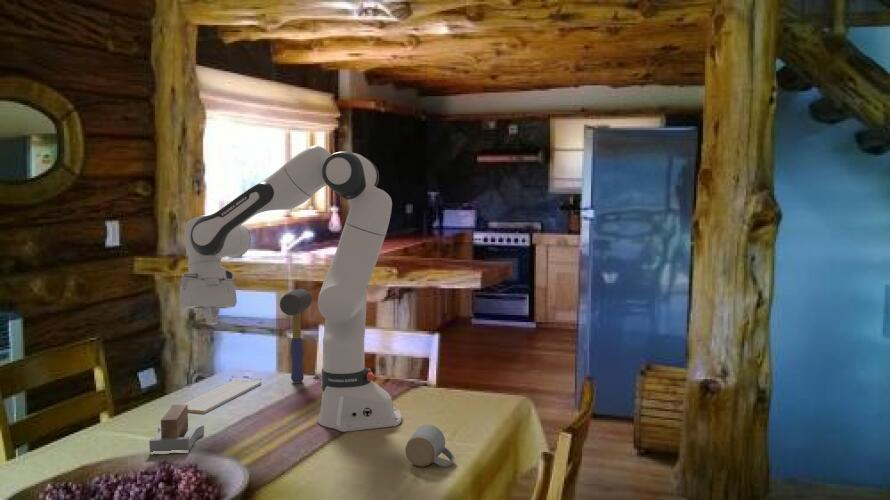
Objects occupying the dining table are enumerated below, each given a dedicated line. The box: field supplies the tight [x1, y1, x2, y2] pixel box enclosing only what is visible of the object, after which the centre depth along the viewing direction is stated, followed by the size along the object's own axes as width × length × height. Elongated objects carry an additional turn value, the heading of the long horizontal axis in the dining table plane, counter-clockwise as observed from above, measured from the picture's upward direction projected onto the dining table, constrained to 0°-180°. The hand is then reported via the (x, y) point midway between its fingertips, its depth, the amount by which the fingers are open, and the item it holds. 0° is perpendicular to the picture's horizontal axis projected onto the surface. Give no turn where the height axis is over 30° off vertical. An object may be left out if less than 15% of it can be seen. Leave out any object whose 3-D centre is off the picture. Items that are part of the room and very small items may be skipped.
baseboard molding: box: [181, 375, 262, 415], centre depth 218 cm, size 31×3×12 cm
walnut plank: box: [160, 404, 189, 438], centre depth 178 cm, size 4×12×8 cm, turn 8°
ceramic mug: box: [405, 424, 455, 468], centre depth 166 cm, size 11×8×8 cm
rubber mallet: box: [279, 288, 313, 384], centre depth 232 cm, size 12×8×30 cm, turn 172°
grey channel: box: [149, 423, 205, 453], centre depth 178 cm, size 11×14×4 cm
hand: (212, 324), depth 199 cm, fingers closed
